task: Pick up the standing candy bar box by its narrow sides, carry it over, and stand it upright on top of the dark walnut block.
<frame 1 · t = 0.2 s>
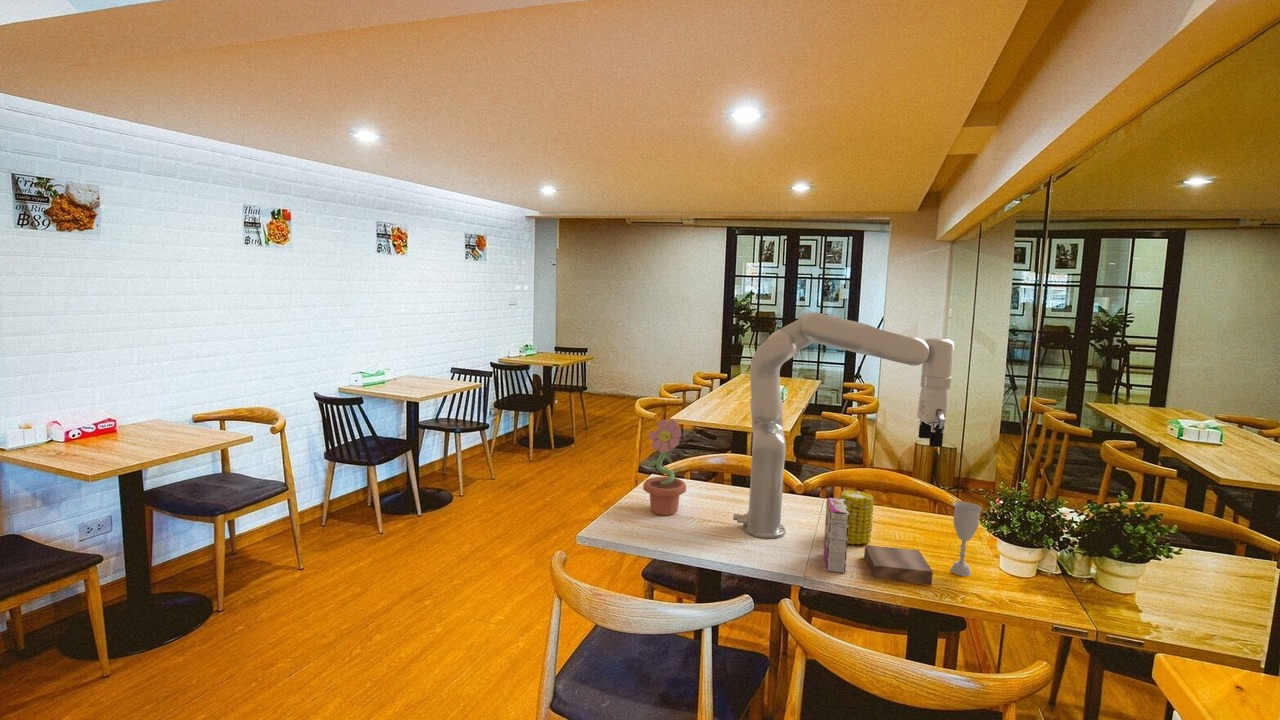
hand: (929, 442, 177), 31 cm above the table, tool pointing down, fingers open, 9 cm apart
candy bar box: (833, 564, 167), on the table
decorative flower: (662, 511, 201), on the table
chalice: (960, 572, 165), on the table
food: (853, 540, 184), on the table
walnut block: (896, 572, 164), on the table
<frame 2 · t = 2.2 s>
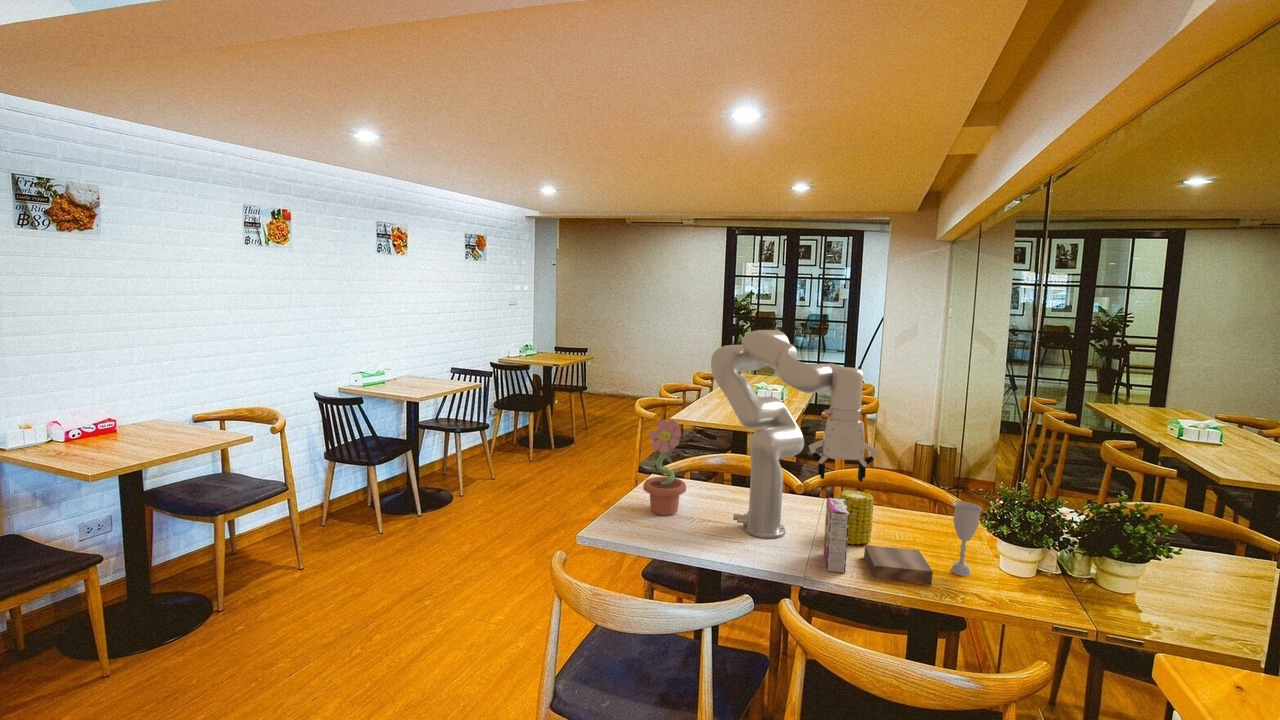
hand: (840, 479, 164), 23 cm above the table, tool pointing down, fingers open, 9 cm apart
nothing on the table moved.
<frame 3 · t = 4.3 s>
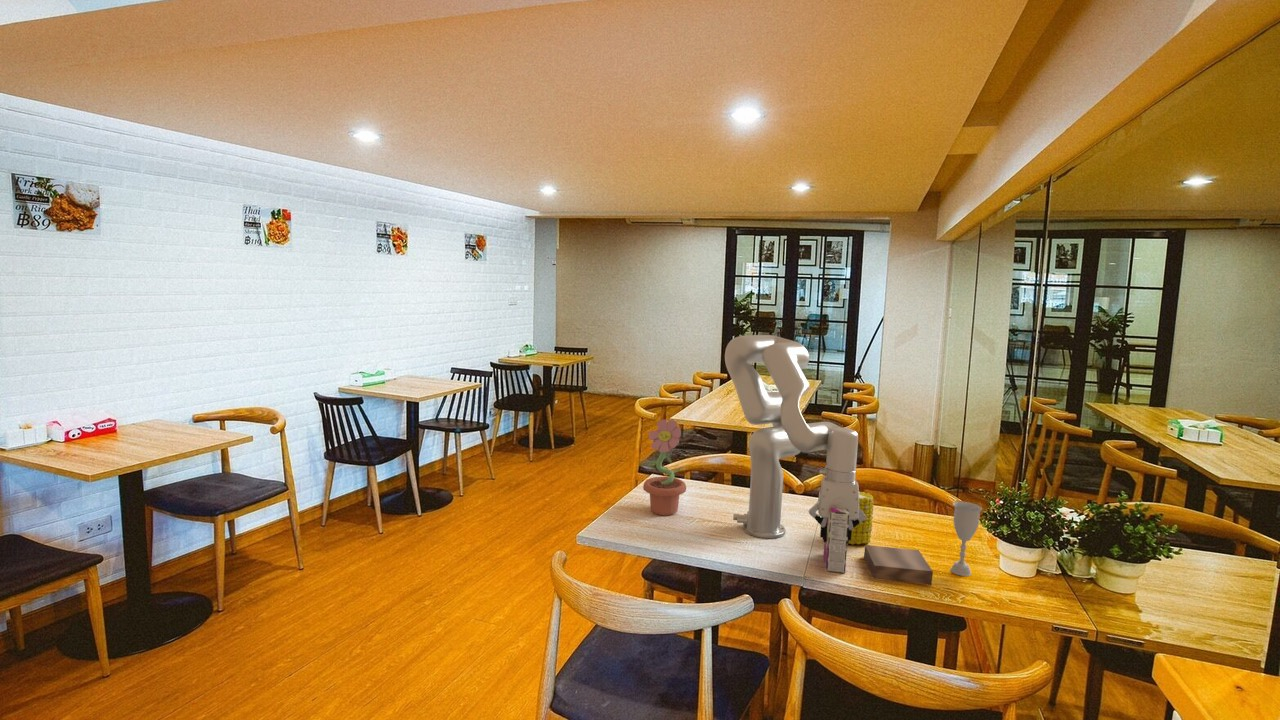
hand: (835, 540, 166), 6 cm above the table, tool pointing down, fingers closed on candy bar box, 5 cm apart
candy bar box: (833, 564, 167), on the table, touching gripper
everything else where it was.
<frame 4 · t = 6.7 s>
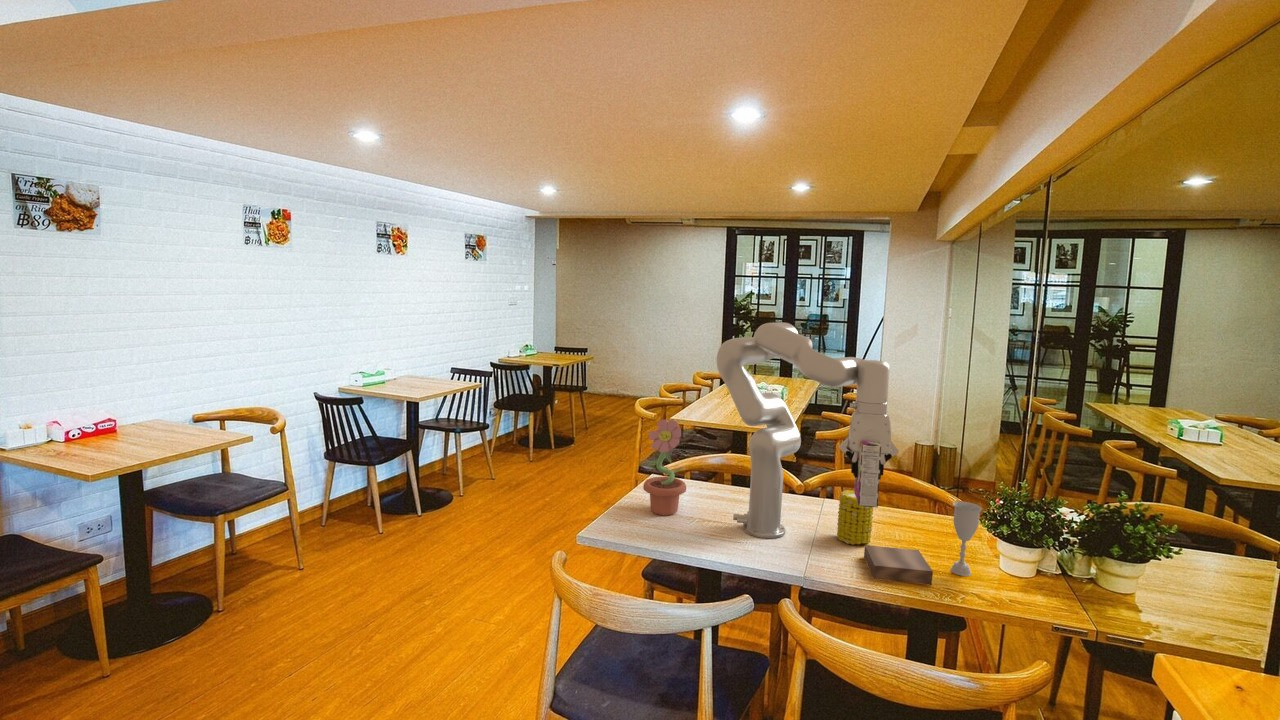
hand: (866, 476, 163), 25 cm above the table, tool pointing down, fingers closed on candy bar box, 5 cm apart
candy bar box: (865, 501, 163), point 18 cm above the table, touching gripper
everything else where it was.
when the fingers open (11 cm above the table, at t = 9.3 s): candy bar box drops 1 cm, resting on walnut block.
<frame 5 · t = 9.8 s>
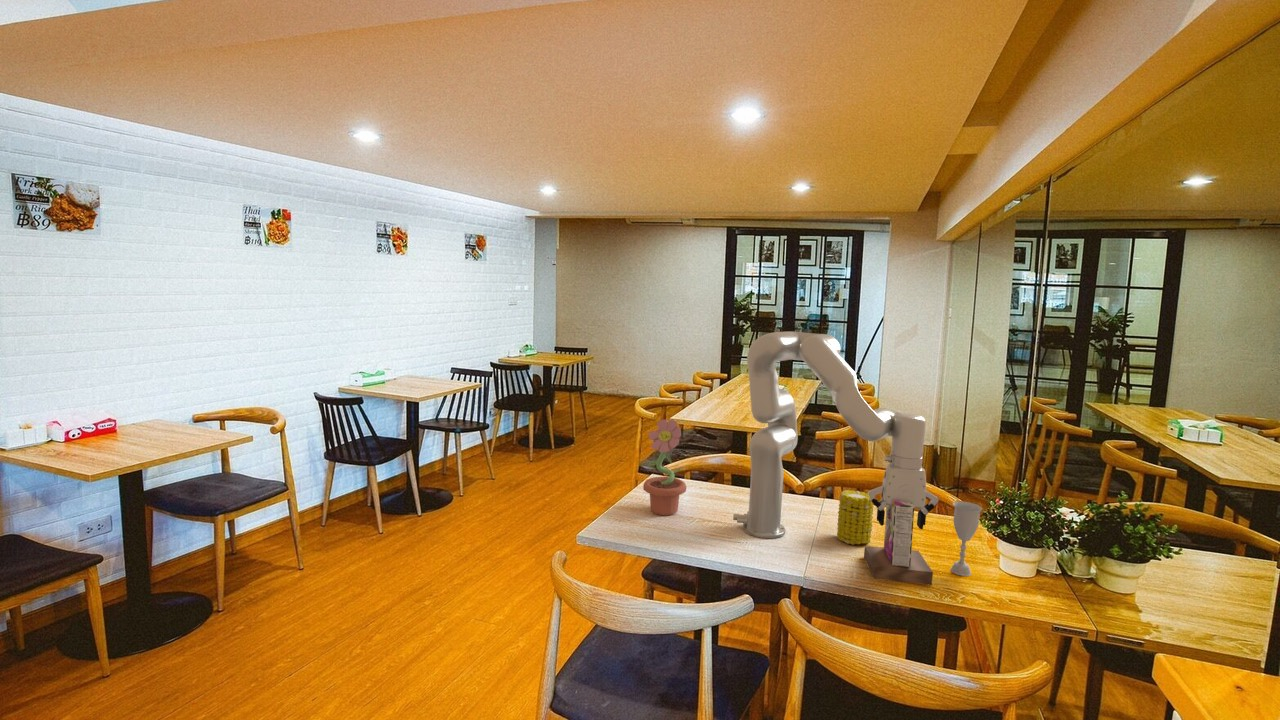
hand: (900, 525, 163), 12 cm above the table, tool pointing down, fingers open, 9 cm apart
candy bar box: (896, 558, 164), point 3 cm above the table, touching walnut block
walnut block: (896, 572, 165), on the table, touching candy bar box
everything else where it was.
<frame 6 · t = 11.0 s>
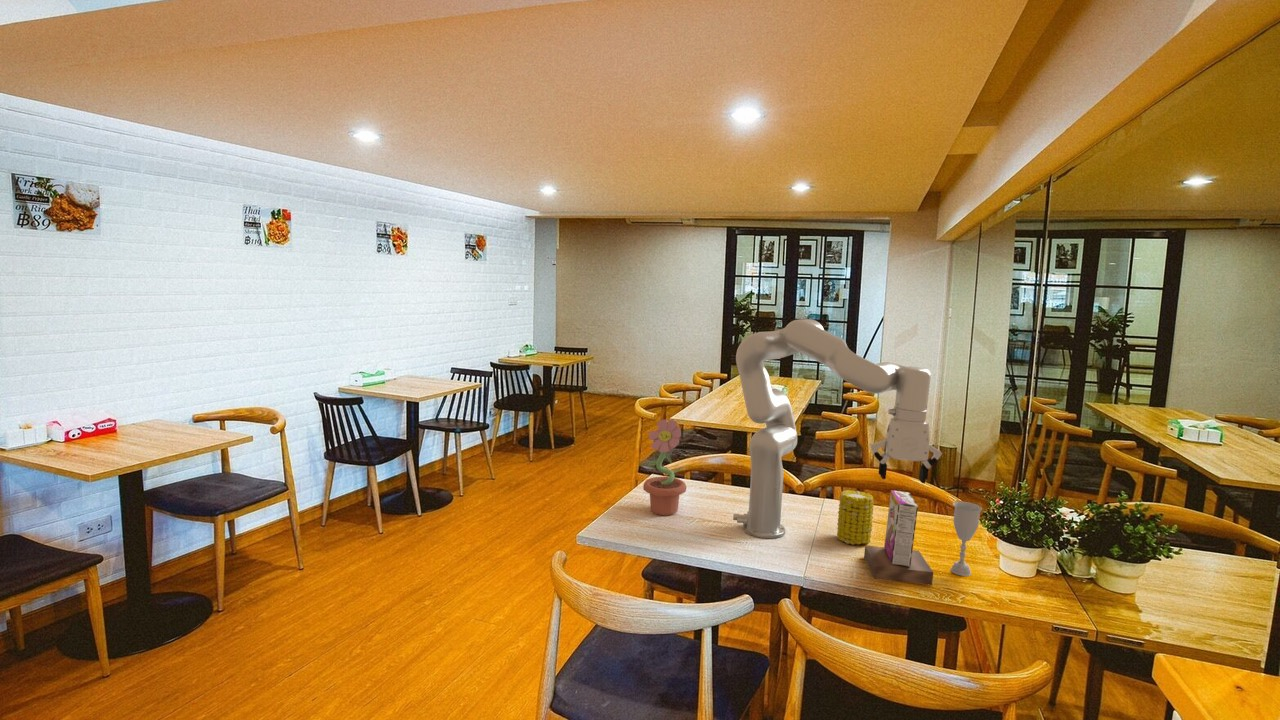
hand: (902, 479, 162), 25 cm above the table, tool pointing down, fingers open, 9 cm apart
candy bar box: (896, 558, 164), point 3 cm above the table
walnut block: (896, 572, 164), on the table
everything else where it was.
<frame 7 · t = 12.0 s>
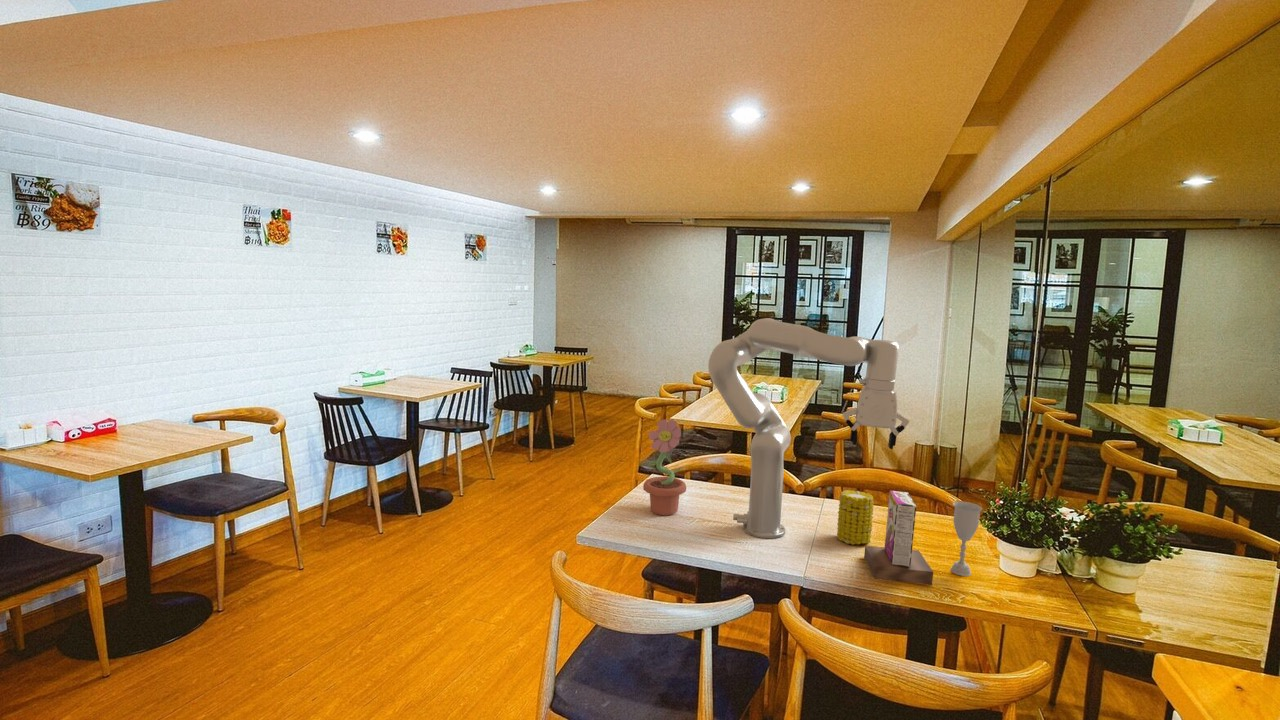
hand: (872, 445, 173), 30 cm above the table, tool pointing down, fingers open, 9 cm apart
nothing on the table moved.
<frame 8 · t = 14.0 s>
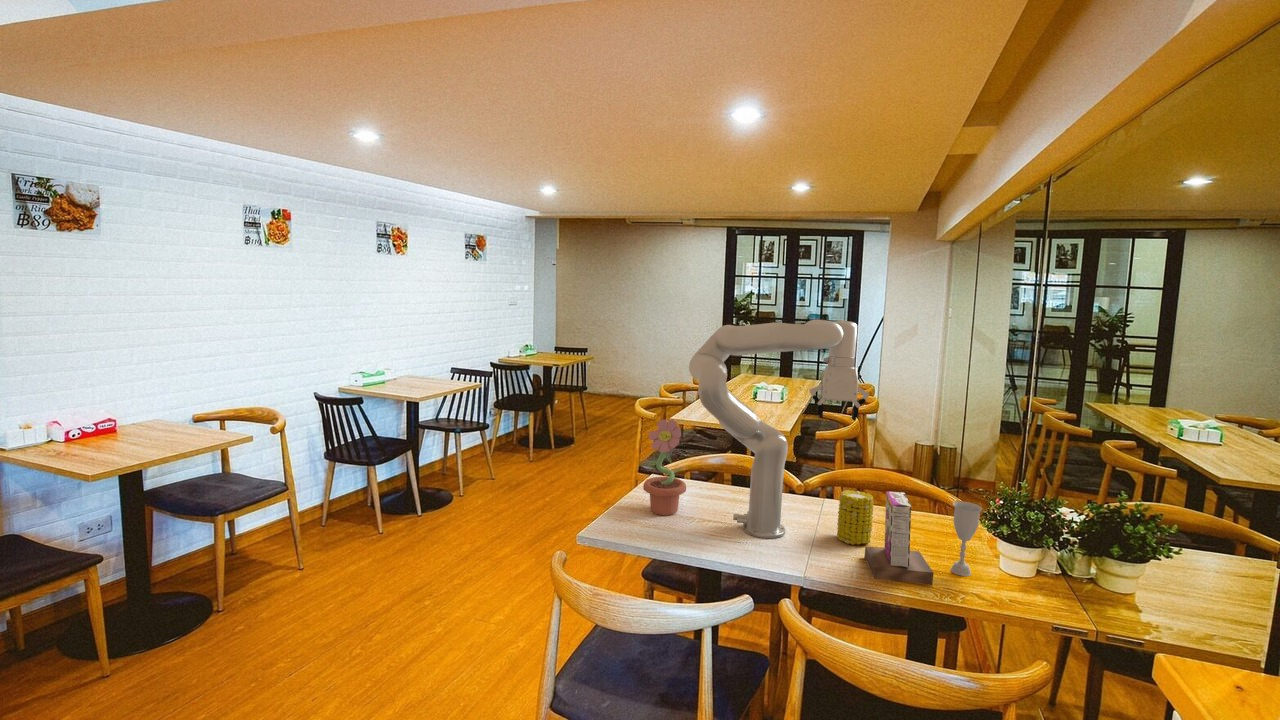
hand: (837, 418, 189), 34 cm above the table, tool pointing down, fingers open, 9 cm apart
at the end: candy bar box 0.5 cm off-centre on the walnut block, point 3.9 cm above the walnut block's base; candy bar box tilted 3°; the gripper is holding nothing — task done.
